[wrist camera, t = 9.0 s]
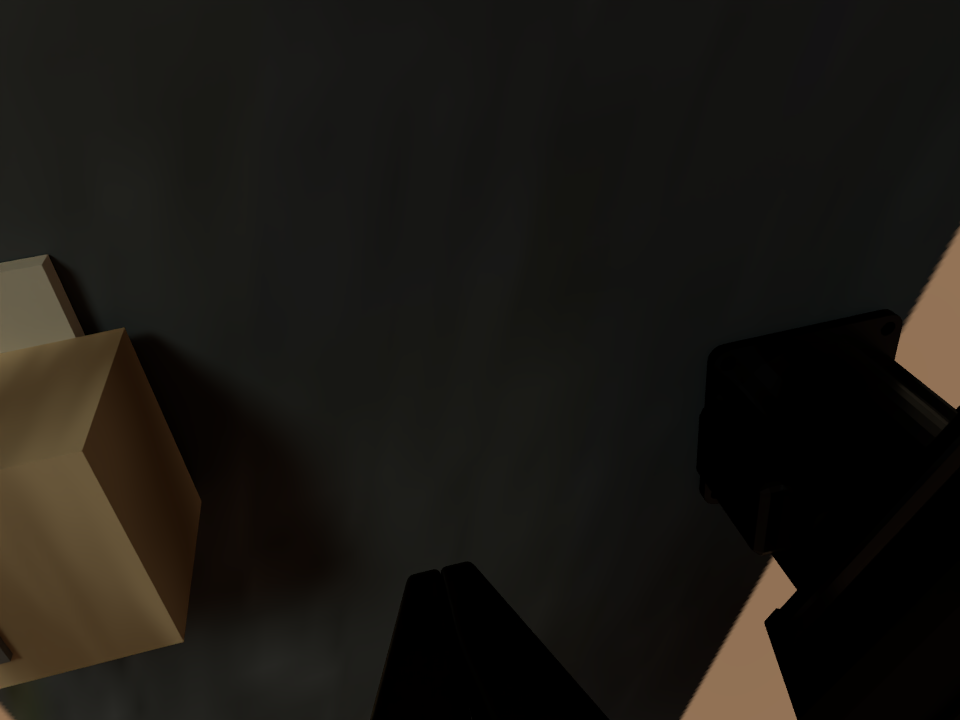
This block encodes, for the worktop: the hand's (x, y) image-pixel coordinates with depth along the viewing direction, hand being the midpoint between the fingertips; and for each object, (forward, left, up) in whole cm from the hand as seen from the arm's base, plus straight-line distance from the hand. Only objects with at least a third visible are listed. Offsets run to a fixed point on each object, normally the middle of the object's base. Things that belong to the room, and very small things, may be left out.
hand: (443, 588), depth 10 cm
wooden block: (+6, +4, -9) cm, 12 cm away
